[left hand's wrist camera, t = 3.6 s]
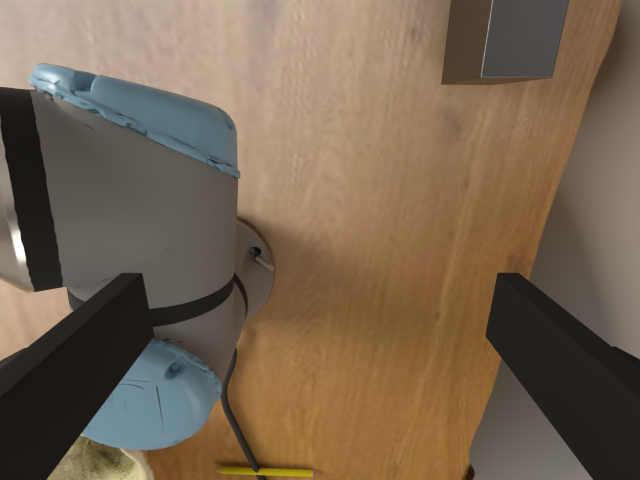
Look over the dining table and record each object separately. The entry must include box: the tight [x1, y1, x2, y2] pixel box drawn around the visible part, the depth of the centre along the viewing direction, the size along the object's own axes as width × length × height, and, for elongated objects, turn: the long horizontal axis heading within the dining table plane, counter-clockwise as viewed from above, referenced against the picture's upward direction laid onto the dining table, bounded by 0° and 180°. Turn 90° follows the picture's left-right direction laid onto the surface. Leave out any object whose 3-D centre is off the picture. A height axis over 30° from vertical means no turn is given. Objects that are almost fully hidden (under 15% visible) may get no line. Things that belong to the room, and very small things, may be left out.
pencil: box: [214, 467, 314, 477], centre depth 56 cm, size 16×1×1 cm, turn 87°
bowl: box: [47, 434, 155, 480], centre depth 48 cm, size 14×18×15 cm
